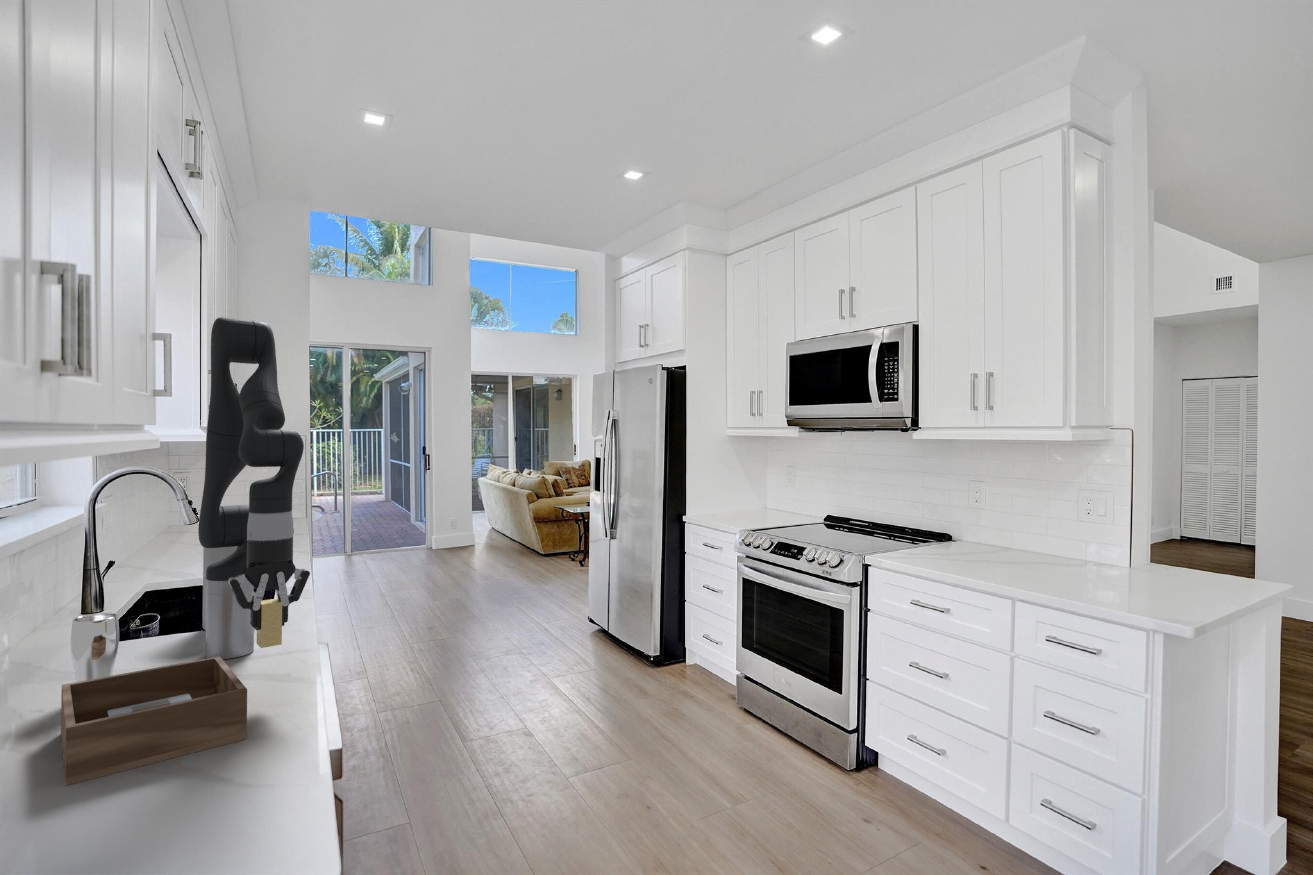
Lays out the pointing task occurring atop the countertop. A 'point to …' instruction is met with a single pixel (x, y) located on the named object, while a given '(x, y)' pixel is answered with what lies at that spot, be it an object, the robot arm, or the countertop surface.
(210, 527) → the robot arm
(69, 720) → the walled box
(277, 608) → the tan wooden block
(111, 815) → the countertop surface
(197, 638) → the countertop surface
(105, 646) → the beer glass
